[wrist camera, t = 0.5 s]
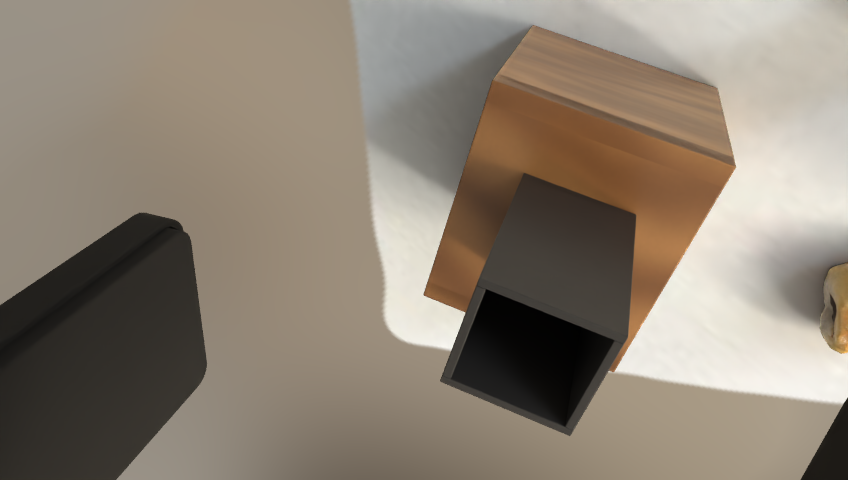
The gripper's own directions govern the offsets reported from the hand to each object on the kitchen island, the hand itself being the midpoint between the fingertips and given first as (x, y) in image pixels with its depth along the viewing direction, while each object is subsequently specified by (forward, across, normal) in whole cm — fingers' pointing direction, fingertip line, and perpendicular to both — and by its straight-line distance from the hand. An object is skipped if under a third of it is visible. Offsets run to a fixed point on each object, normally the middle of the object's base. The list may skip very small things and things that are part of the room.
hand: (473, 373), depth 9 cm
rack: (+36, 0, +11) cm, 37 cm away
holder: (+24, 0, +11) cm, 26 cm away
